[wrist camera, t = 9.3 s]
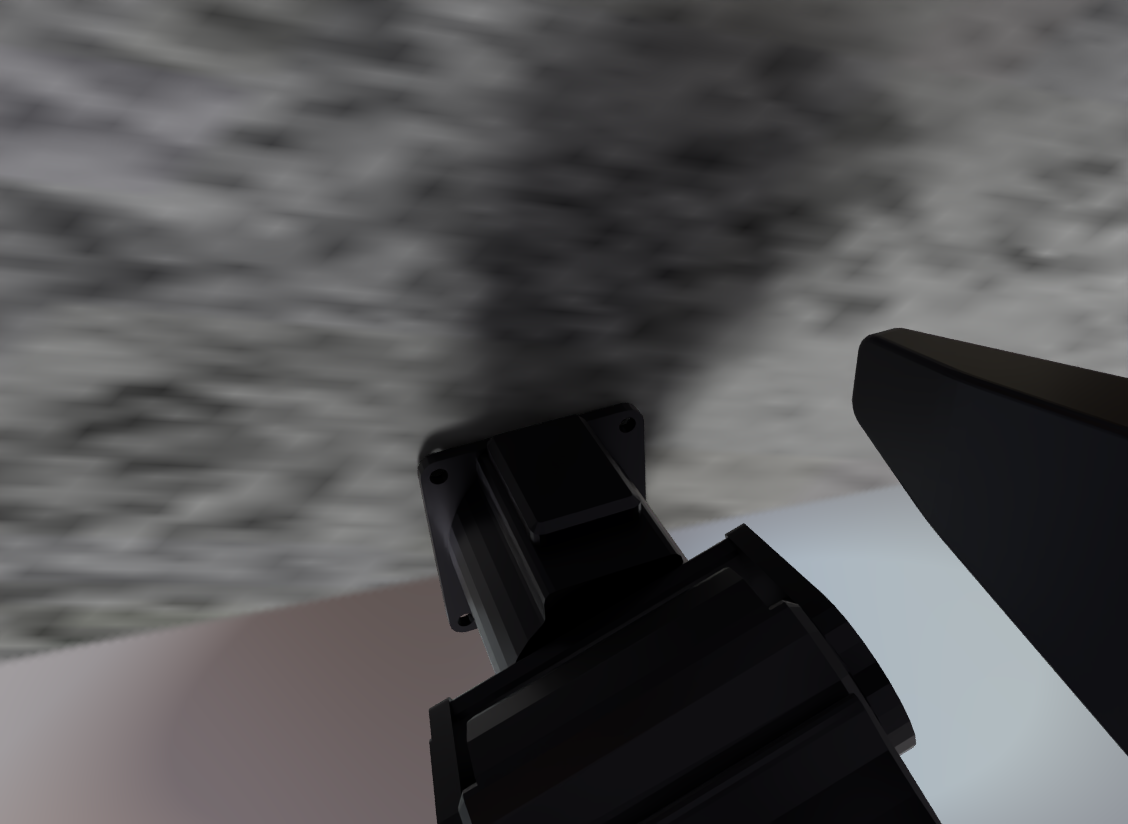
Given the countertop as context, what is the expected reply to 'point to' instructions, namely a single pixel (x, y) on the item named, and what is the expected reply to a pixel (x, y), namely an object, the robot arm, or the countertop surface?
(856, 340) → the countertop surface
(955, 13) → the countertop surface
